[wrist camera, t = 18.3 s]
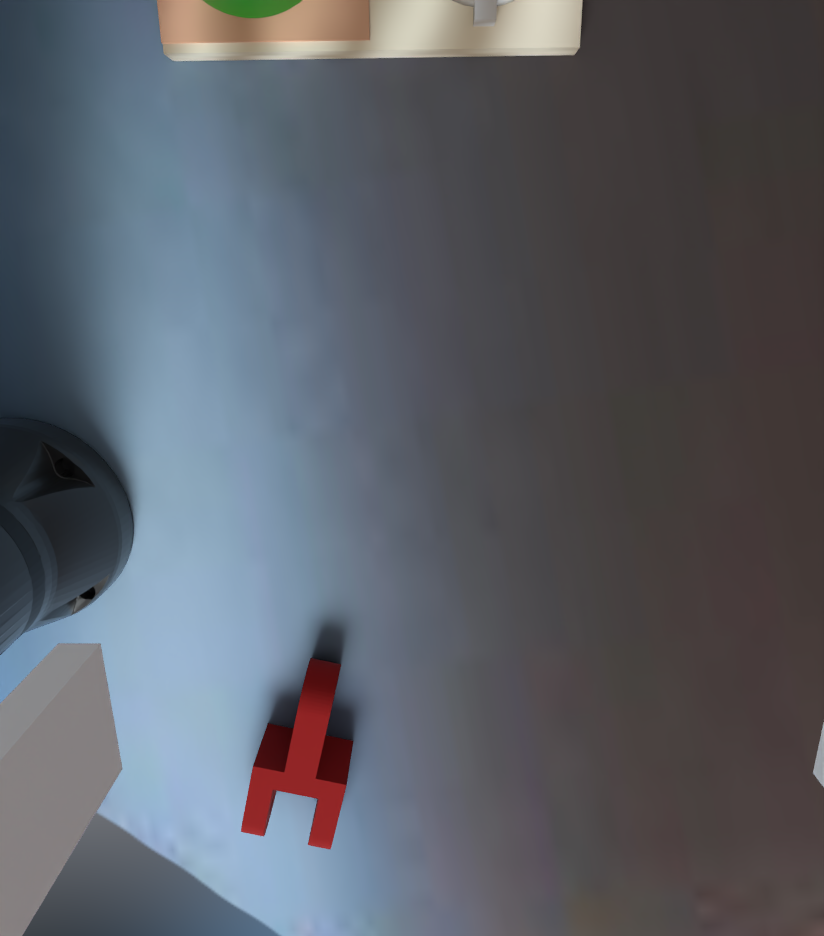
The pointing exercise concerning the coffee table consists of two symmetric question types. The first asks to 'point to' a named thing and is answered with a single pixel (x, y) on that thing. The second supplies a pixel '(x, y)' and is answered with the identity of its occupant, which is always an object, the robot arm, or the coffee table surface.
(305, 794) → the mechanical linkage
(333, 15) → the board
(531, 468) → the coffee table surface
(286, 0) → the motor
